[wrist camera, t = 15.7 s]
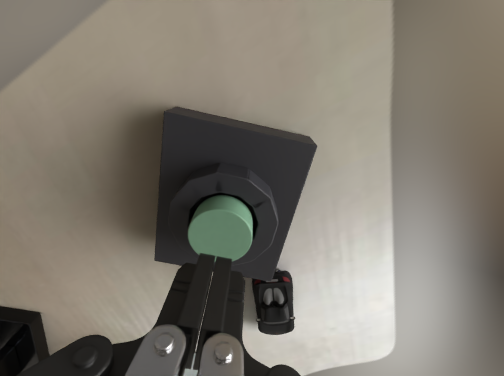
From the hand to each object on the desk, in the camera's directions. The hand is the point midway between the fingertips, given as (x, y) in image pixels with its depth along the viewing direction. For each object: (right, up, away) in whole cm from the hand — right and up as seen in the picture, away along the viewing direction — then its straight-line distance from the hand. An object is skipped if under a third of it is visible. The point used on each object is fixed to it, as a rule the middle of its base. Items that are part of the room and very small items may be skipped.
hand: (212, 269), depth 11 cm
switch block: (0, +3, +7) cm, 8 cm away
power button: (0, +2, +4) cm, 4 cm away
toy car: (+4, -6, +11) cm, 14 cm away
